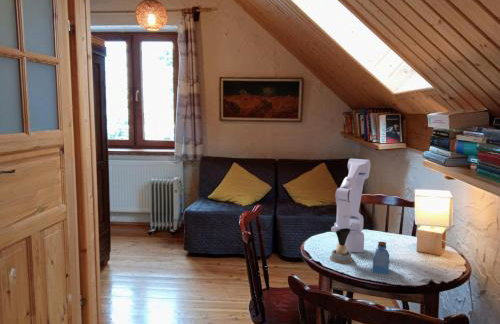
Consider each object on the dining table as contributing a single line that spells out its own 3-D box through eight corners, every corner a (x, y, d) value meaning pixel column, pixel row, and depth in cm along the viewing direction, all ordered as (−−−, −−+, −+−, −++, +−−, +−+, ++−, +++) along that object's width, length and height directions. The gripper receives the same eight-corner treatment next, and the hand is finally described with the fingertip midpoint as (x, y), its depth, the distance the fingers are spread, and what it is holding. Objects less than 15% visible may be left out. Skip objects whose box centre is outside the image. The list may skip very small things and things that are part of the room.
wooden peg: (345, 256, 185) (345, 243, 184) (347, 259, 180) (347, 246, 179) (335, 256, 185) (335, 243, 184) (337, 259, 180) (337, 246, 179)
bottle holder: (349, 255, 187) (350, 249, 187) (355, 263, 177) (355, 256, 177) (328, 255, 187) (328, 248, 187) (331, 263, 178) (332, 256, 177)
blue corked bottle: (388, 268, 172) (390, 241, 171) (388, 274, 166) (390, 246, 165) (373, 266, 174) (374, 239, 173) (372, 272, 168) (374, 244, 167)
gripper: (344, 210, 188) (343, 239, 189) (325, 215, 178) (324, 246, 179) (358, 213, 183) (356, 242, 184) (339, 219, 173) (338, 250, 174)
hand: (341, 244), depth 182 cm, fingers closed
